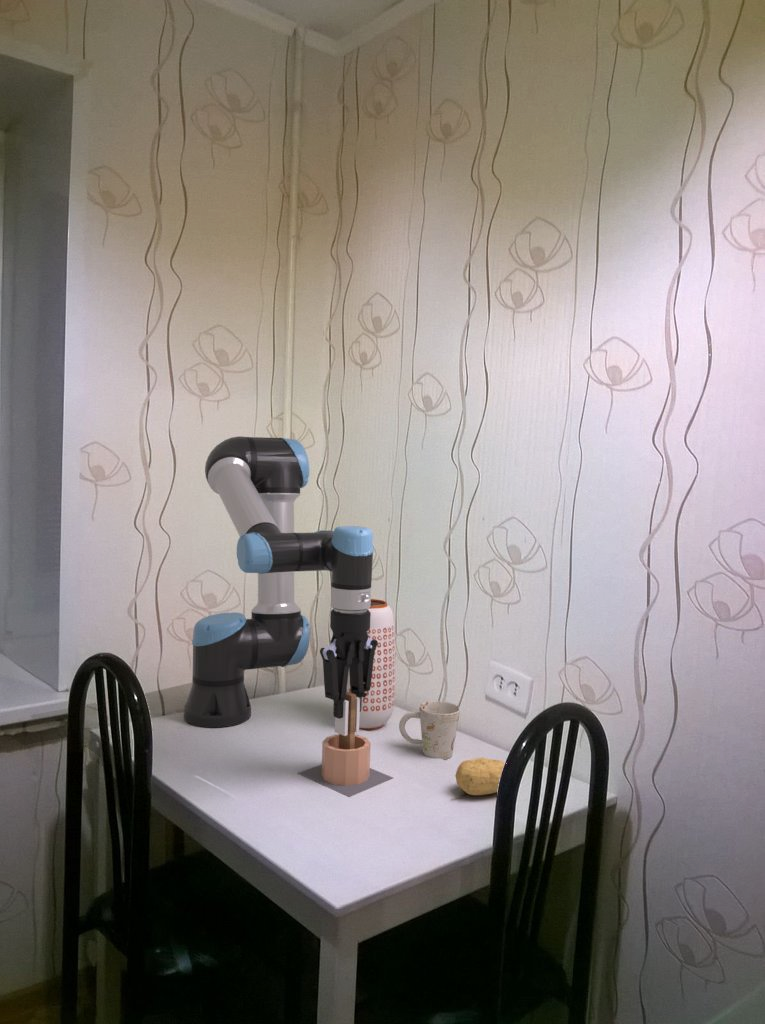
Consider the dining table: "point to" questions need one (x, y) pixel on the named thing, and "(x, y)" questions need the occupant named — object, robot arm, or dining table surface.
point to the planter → (379, 669)
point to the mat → (350, 790)
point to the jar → (345, 761)
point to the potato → (479, 775)
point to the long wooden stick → (349, 724)
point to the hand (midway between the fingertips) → (346, 731)
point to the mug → (435, 728)
